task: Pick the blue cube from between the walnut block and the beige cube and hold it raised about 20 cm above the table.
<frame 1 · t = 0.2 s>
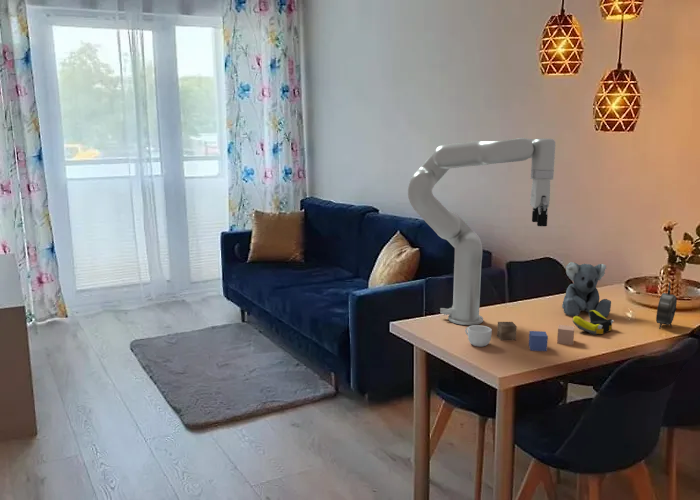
hand: (539, 224, 230), 36 cm above the table, tool pointing down, fingers open, 9 cm apart
koala plush: (581, 311, 254), on the table
alarm clock: (665, 327, 235), on the table
beige cube: (565, 342, 218), on the table
teacup: (476, 344, 215), on the table
blue cube: (537, 348, 211), on the table
walnut block: (506, 338, 221), on the table
yellow black angled piece: (593, 331, 230), on the table
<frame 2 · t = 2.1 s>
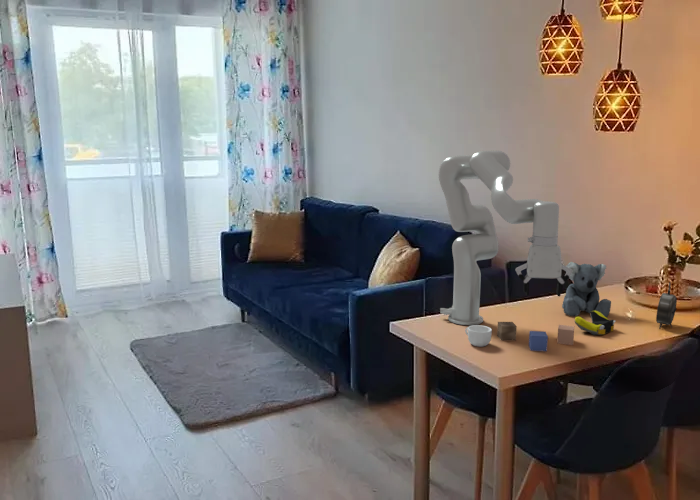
hand: (542, 295, 207), 18 cm above the table, tool pointing down, fingers open, 9 cm apart
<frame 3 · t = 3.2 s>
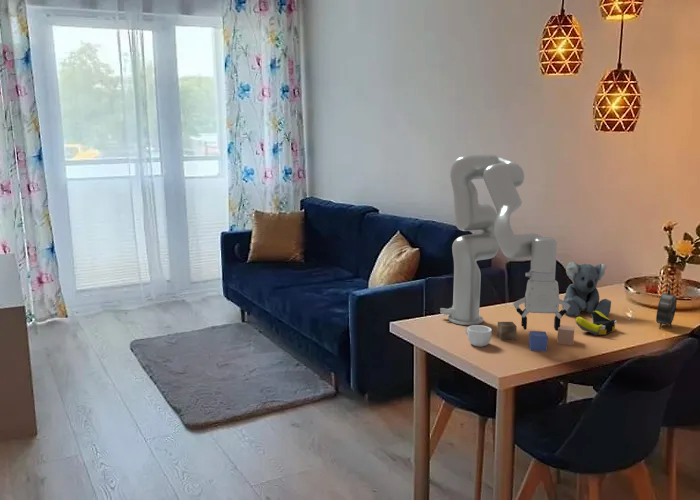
hand: (540, 329, 209), 7 cm above the table, tool pointing down, fingers open, 9 cm apart
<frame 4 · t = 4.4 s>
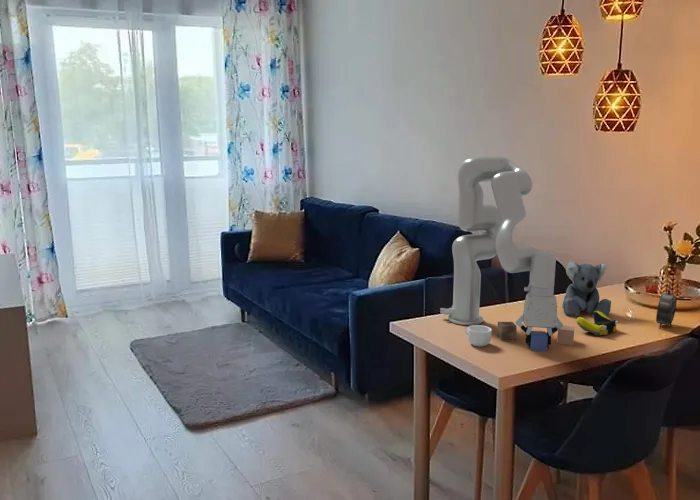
hand: (537, 345, 211), 1 cm above the table, tool pointing down, fingers closed on blue cube, 4 cm apart
blue cube: (537, 348, 211), on the table, touching gripper
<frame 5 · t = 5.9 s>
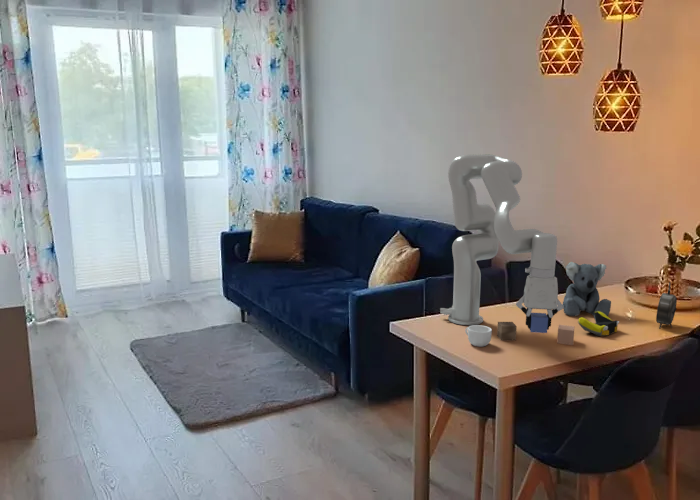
hand: (537, 327, 210), 7 cm above the table, tool pointing down, fingers closed on blue cube, 4 cm apart
blue cube: (537, 330, 210), point 6 cm above the table, touching gripper
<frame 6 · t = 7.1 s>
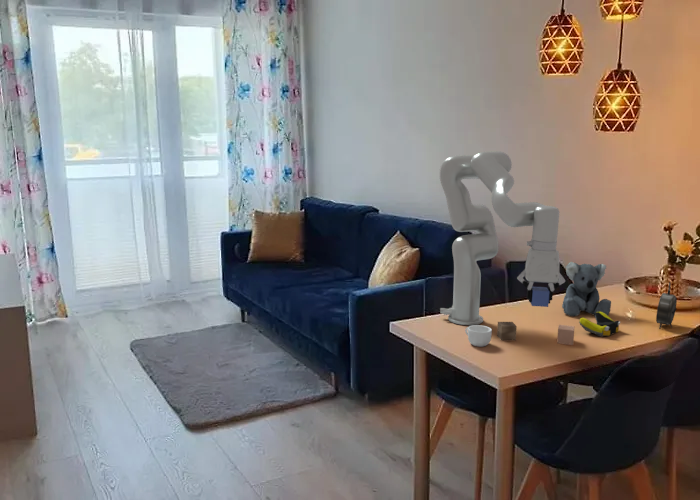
hand: (539, 301, 209), 15 cm above the table, tool pointing down, fingers closed on blue cube, 4 cm apart
blue cube: (538, 304, 209), point 14 cm above the table, touching gripper
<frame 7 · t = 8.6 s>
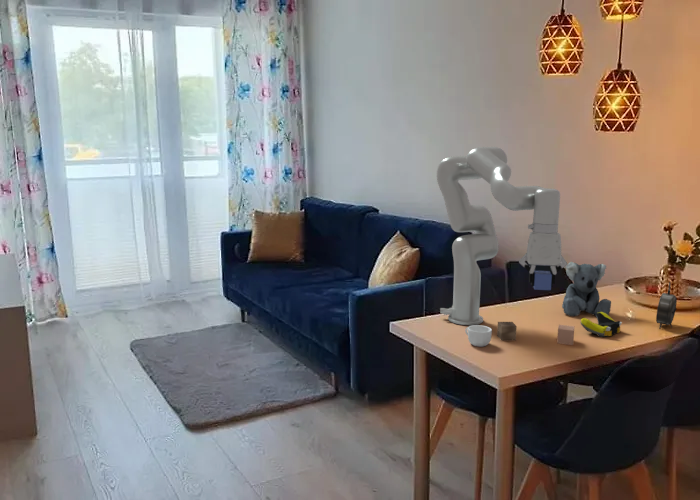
hand: (541, 285, 207), 21 cm above the table, tool pointing down, fingers closed on blue cube, 4 cm apart
blue cube: (541, 287, 207), point 20 cm above the table, touching gripper
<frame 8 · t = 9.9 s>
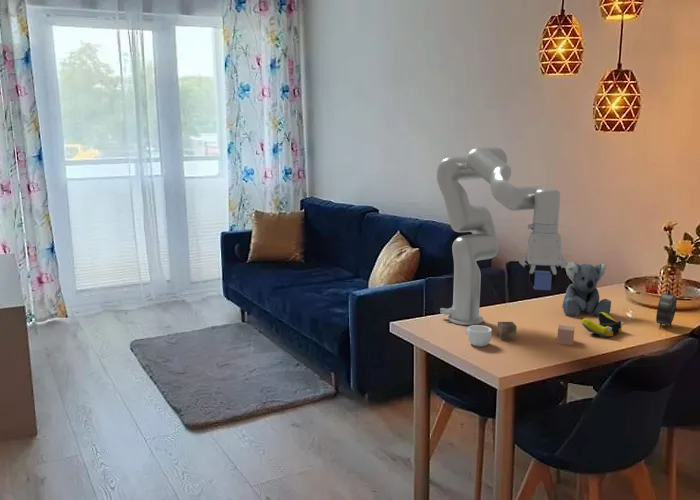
hand: (541, 285, 207), 21 cm above the table, tool pointing down, fingers closed on blue cube, 4 cm apart
blue cube: (541, 287, 207), point 20 cm above the table, touching gripper
at the end: the gripper is holding blue cube; blue cube point 19.9 cm above the table; beige cube moved 0.1 cm from its start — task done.
